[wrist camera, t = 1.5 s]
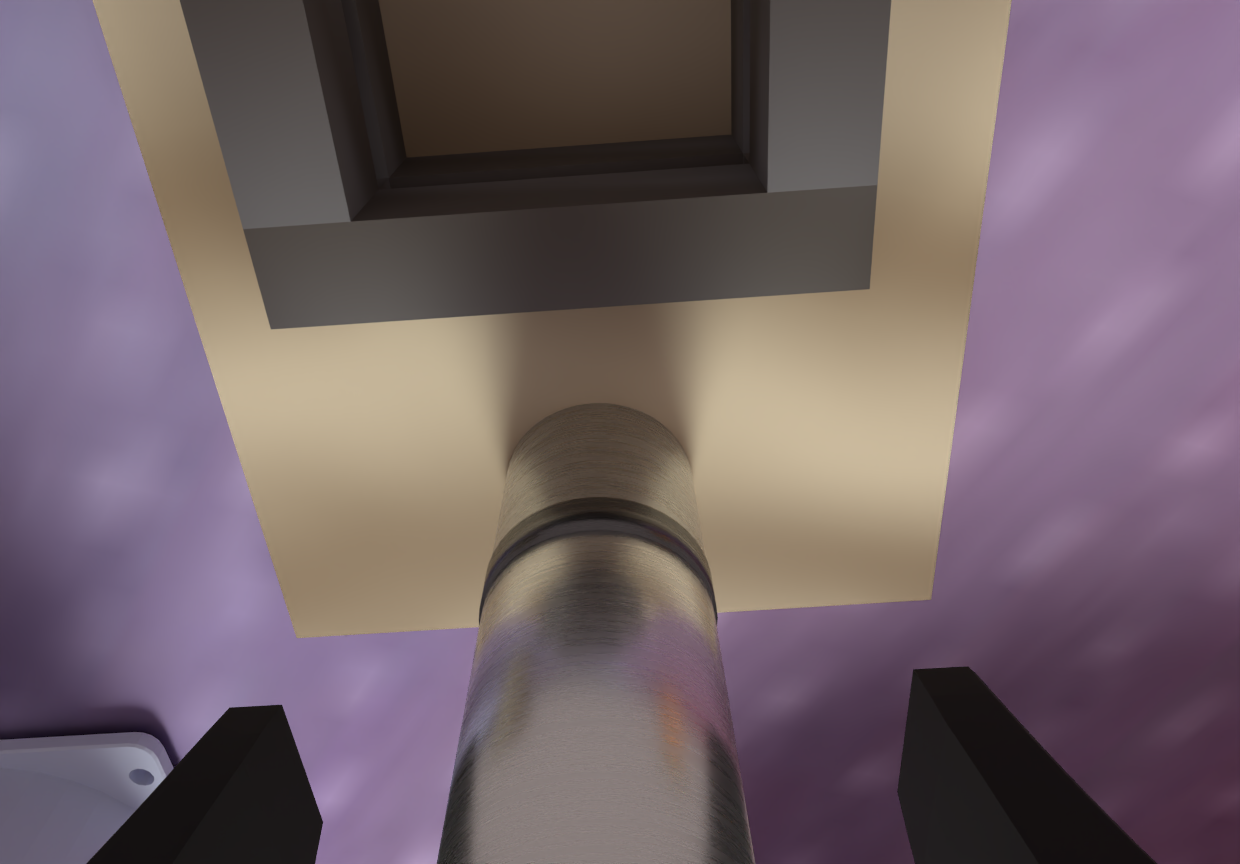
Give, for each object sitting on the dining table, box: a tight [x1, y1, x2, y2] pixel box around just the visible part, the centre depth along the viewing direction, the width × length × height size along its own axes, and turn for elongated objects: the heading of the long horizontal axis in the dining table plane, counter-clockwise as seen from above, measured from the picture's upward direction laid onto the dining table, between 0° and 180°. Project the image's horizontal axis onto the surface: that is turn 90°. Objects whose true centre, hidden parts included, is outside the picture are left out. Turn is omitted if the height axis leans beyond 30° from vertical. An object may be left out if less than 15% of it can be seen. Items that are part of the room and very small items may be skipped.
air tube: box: [437, 403, 755, 864], centre depth 11 cm, size 3×3×9 cm
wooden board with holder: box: [93, 0, 1012, 638], centre depth 12 cm, size 15×12×4 cm
